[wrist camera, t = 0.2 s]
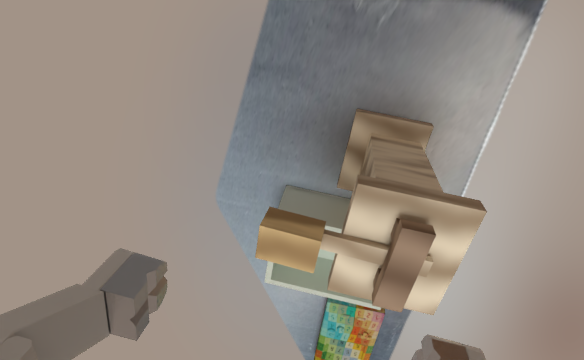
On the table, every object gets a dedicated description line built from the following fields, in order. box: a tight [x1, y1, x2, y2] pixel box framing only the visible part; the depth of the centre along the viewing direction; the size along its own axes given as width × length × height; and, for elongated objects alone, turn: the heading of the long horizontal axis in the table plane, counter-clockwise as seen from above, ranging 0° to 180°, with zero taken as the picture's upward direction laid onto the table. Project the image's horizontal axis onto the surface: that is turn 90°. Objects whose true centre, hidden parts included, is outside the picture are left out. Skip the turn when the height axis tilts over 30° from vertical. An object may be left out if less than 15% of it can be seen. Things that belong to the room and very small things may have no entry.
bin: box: [265, 185, 381, 310], centre depth 62 cm, size 15×21×10 cm
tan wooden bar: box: [255, 207, 433, 277], centre depth 34 cm, size 4×17×4 cm, turn 81°
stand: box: [327, 109, 487, 315], centre depth 46 cm, size 14×12×29 cm
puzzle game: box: [314, 298, 385, 360], centre depth 76 cm, size 12×5×20 cm
